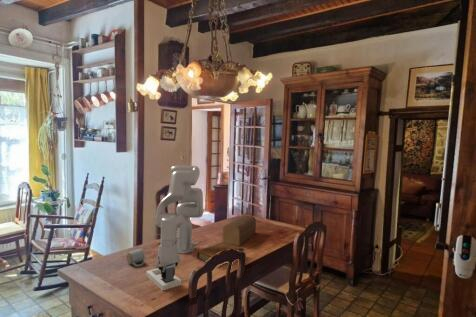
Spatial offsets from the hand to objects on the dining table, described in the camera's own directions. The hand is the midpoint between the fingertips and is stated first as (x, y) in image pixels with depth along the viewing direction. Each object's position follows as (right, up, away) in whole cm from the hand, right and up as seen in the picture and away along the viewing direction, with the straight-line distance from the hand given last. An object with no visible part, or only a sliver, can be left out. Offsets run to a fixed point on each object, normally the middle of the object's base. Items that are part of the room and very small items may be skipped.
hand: (168, 276), depth 154 cm
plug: (0, -3, 0) cm, 3 cm away
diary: (+24, -3, +36) cm, 44 cm away
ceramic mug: (-24, -2, +25) cm, 34 cm away
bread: (+37, 0, +75) cm, 83 cm away
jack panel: (-4, -4, +4) cm, 7 cm away
